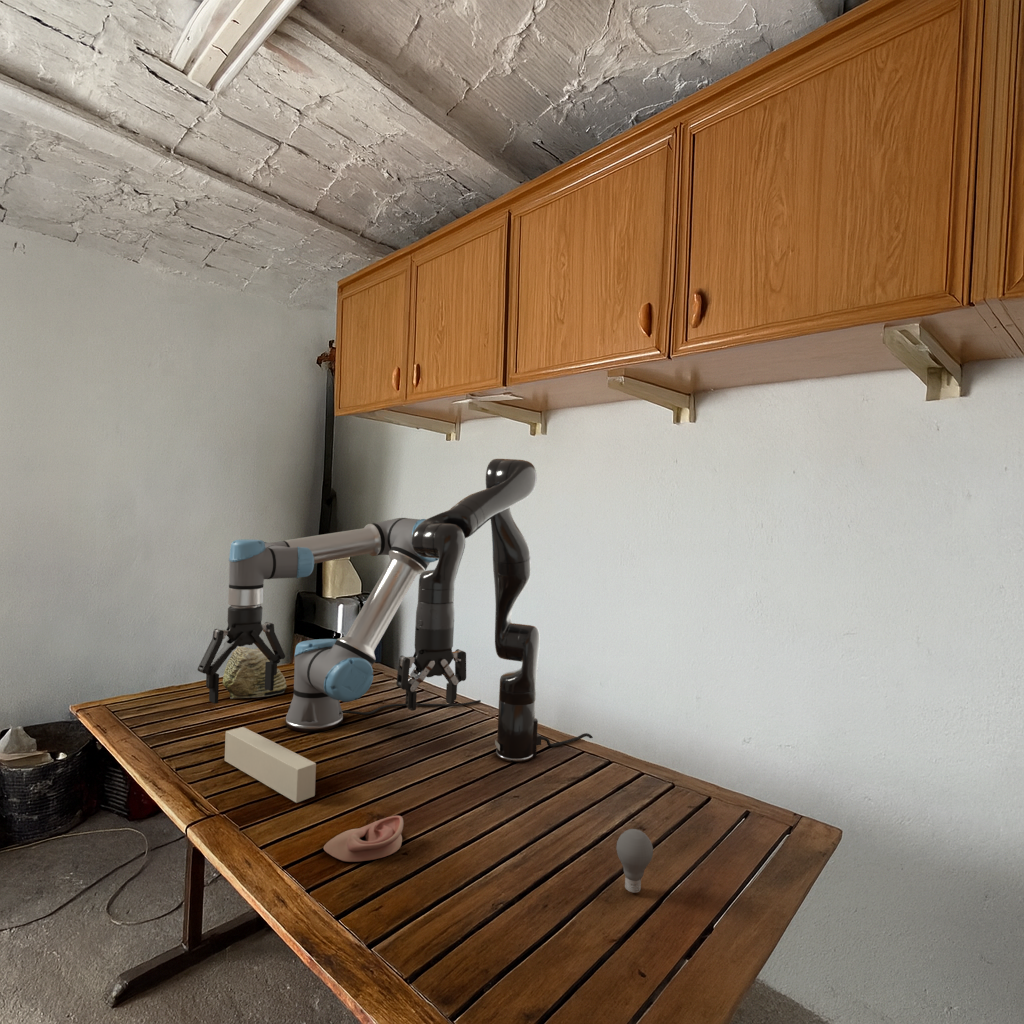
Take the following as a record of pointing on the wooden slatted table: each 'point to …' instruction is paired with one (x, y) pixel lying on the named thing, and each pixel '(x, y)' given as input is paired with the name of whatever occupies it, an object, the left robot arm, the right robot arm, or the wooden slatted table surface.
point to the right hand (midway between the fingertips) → (431, 706)
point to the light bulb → (634, 857)
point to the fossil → (250, 675)
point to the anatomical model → (367, 841)
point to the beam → (271, 764)
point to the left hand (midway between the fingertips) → (242, 695)
